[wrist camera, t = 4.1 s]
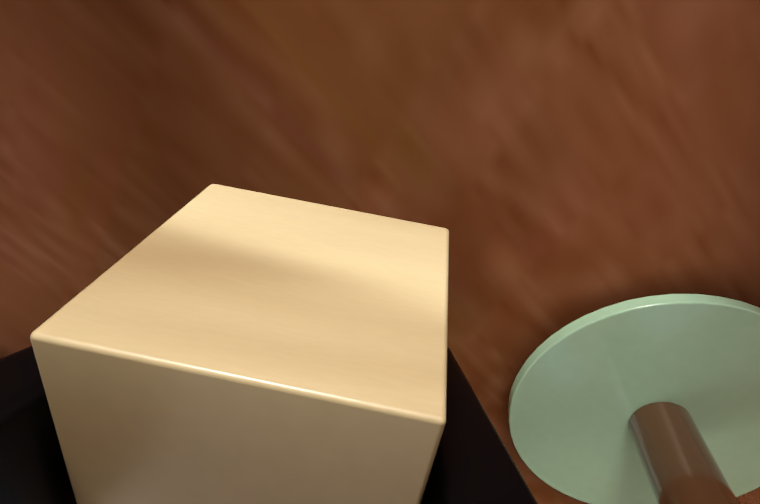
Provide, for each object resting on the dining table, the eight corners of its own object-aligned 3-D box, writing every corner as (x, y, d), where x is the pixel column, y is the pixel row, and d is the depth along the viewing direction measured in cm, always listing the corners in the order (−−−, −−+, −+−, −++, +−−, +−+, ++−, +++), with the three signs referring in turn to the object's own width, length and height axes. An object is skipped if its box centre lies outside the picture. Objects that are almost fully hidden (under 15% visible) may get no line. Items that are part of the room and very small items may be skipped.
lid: (654, 520, 25) (710, 670, 19) (454, 419, 23) (455, 552, 18) (885, 377, 19) (1059, 535, 13) (640, 228, 17) (724, 340, 12)
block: (406, 400, 11) (382, 629, 7) (216, 361, 11) (90, 563, 7) (449, 227, 9) (447, 422, 5) (211, 182, 9) (24, 333, 5)
